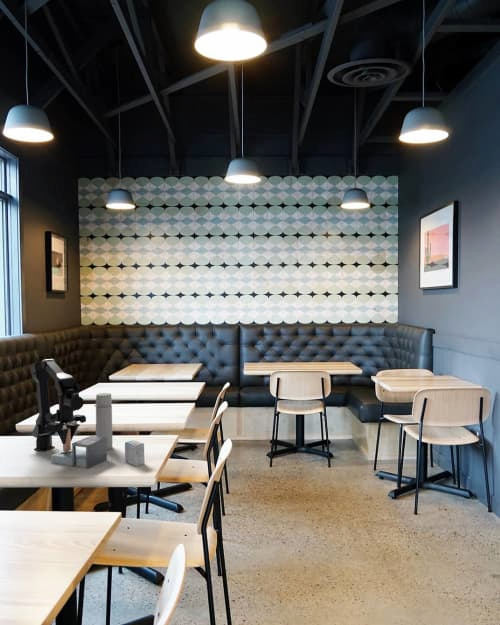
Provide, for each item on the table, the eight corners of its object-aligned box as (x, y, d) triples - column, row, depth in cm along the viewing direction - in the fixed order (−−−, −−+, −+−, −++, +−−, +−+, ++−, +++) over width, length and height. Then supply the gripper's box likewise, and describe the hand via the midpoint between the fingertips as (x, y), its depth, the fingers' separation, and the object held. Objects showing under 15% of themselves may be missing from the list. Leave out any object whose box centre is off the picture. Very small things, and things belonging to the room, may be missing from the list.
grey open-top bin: (91, 457, 214) (91, 435, 213) (107, 459, 211) (106, 437, 211) (72, 466, 203) (72, 443, 202) (88, 468, 200) (87, 445, 199)
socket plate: (67, 455, 217) (67, 448, 217) (103, 459, 210) (103, 452, 210) (51, 462, 208) (51, 455, 208) (87, 467, 201) (87, 460, 201)
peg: (66, 448, 213) (66, 427, 213) (72, 449, 212) (72, 428, 212) (61, 450, 210) (60, 429, 210) (67, 451, 209) (66, 430, 209)
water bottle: (116, 447, 228) (115, 393, 228) (103, 451, 222) (102, 396, 221) (103, 444, 233) (102, 391, 232) (89, 448, 226) (88, 394, 226)
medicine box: (144, 463, 205) (144, 443, 205) (135, 466, 201) (135, 445, 201) (134, 459, 210) (133, 439, 210) (124, 462, 207) (124, 442, 207)
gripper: (66, 401, 222) (67, 435, 222) (34, 409, 205) (35, 447, 205) (86, 402, 218) (87, 437, 218) (55, 411, 201) (56, 449, 201)
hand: (66, 442), depth 211 cm, fingers closed on peg, 3 cm apart
